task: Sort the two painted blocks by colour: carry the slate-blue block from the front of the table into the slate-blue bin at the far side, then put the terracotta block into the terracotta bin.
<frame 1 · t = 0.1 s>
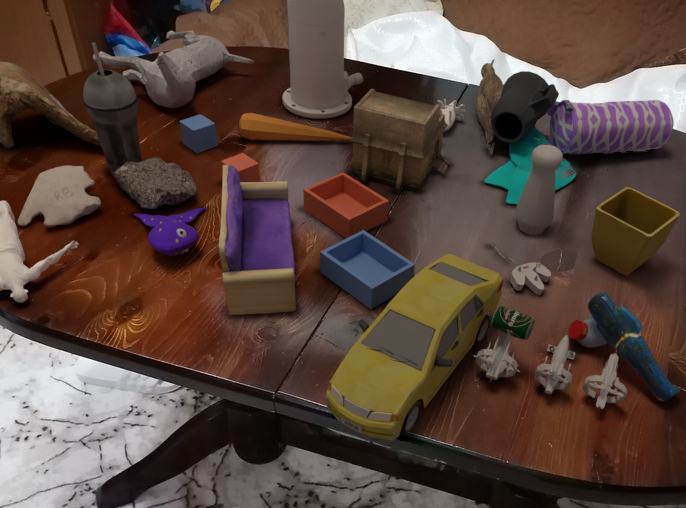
carrot: (299, 146, 122), on the table
red bin: (345, 215, 108), on the table
beer can: (493, 315, 84), point 7 cm above the table, touching toy vehicles
red block: (242, 185, 111), on the table
stone: (160, 197, 108), on the table
blue bin: (366, 278, 97), on the table
beverage cup: (126, 171, 111), on the table
toy vehicles: (548, 374, 87), on the table, touching beer can
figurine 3: (672, 399, 85), point 1 cm above the table, touching red capped bottle 2
blue block: (200, 144, 119), on the table
toy car: (416, 369, 86), on the table
flower pot: (620, 263, 105), on the table
bird model: (504, 115, 134), point 1 cm above the table, touching mug
toy sofa: (261, 267, 98), on the table
statue: (152, 36, 131), point 7 cm above the table
toy: (166, 239, 100), on the table
game controller: (516, 271, 102), on the table
wooden crate: (402, 169, 119), on the table
cloth: (535, 168, 122), on the table, touching mug
mug: (534, 92, 126), point 8 cm above the table, touching bird model, cloth
pencil case: (620, 143, 123), point 4 cm above the table
rock: (75, 145, 120), on the table
salt shaker: (531, 228, 110), on the table
decorative object: (72, 224, 100), point 1 cm above the table
red capped bottle 2: (623, 321, 93), point 2 cm above the table, touching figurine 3
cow: (446, 106, 126), point 5 cm above the table
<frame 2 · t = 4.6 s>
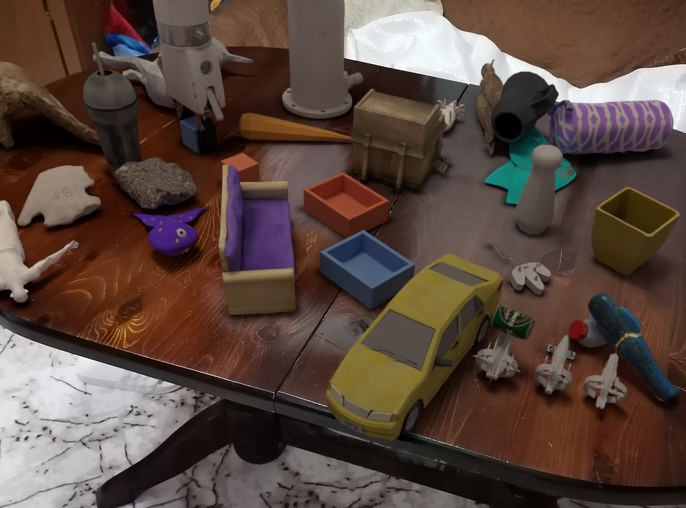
hand: (200, 143, 118), 0 cm above the table, tool pointing down, fingers closed on blue block, 4 cm apart
blue block: (200, 144, 119), on the table, touching gripper
bird model: (504, 115, 134), point 1 cm above the table
mug: (534, 92, 126), point 8 cm above the table, touching cloth
everything else where it was.
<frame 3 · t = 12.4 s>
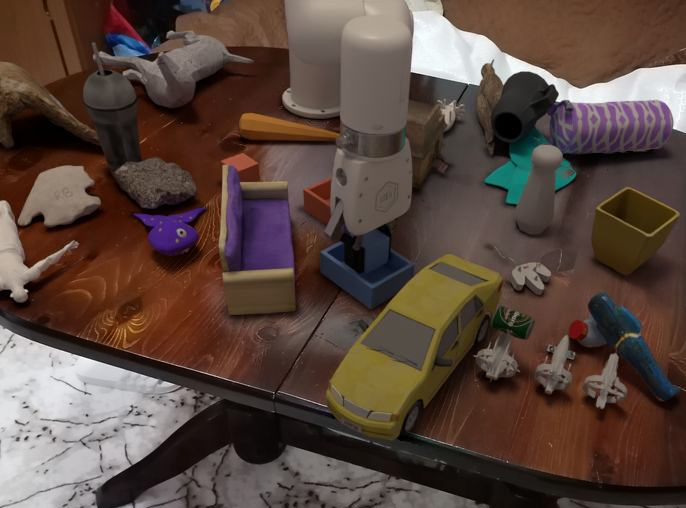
hand: (367, 259, 95), 3 cm above the table, tool pointing down, fingers closed on blue block, 4 cm apart
blue block: (366, 261, 96), point 3 cm above the table, touching gripper
bird model: (504, 115, 134), point 1 cm above the table, touching mug
mug: (534, 92, 126), point 8 cm above the table, touching bird model, cloth
everything else where it was.
when the fingers open (4 cm above the table, at t = 17.4 s): blue block drops 3 cm, resting on blue bin.
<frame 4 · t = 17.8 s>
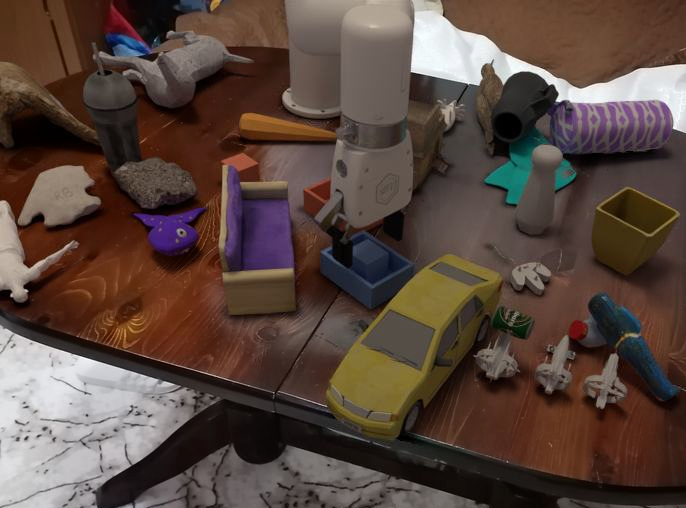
hand: (367, 248, 94), 5 cm above the table, tool pointing down, fingers open, 8 cm apart
blue block: (366, 275, 97), resting on blue bin
bird model: (504, 115, 134), point 1 cm above the table
mug: (534, 92, 126), point 8 cm above the table, touching cloth
everything else where it was.
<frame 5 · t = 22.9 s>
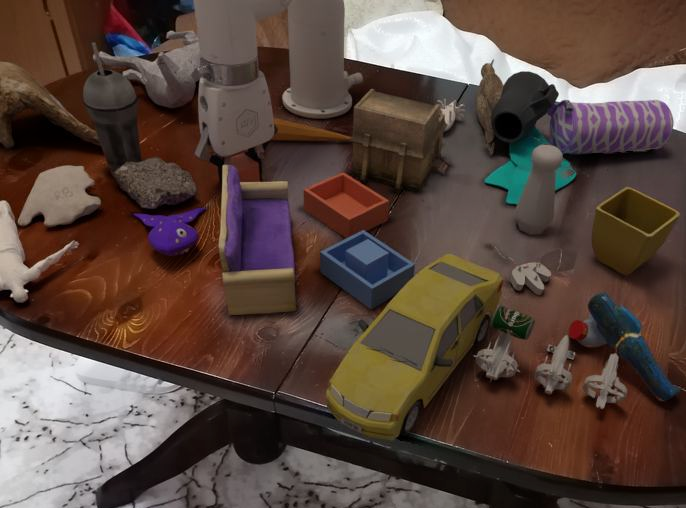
hand: (241, 183, 111), 0 cm above the table, tool pointing down, fingers closed on red block, 4 cm apart
red block: (242, 185, 111), on the table, touching gripper
bird model: (504, 115, 134), point 1 cm above the table, touching mug
mug: (534, 92, 126), point 8 cm above the table, touching bird model, cloth
everything else where it was.
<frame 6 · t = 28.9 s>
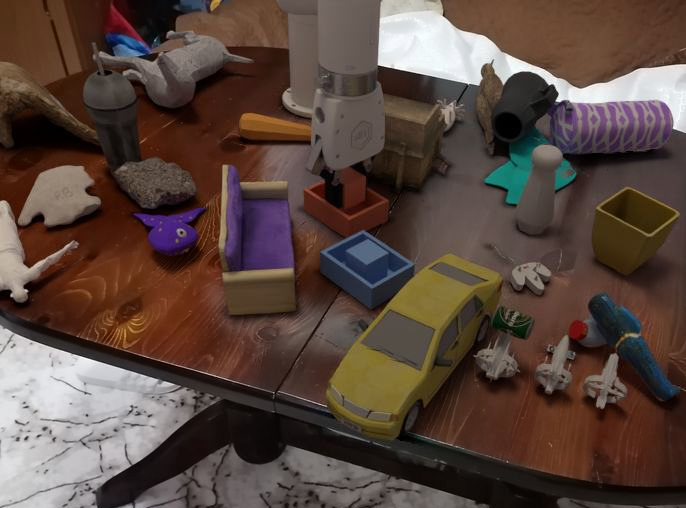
hand: (346, 197, 106), 3 cm above the table, tool pointing down, fingers closed on red block, 4 cm apart
red block: (346, 199, 106), point 3 cm above the table, touching gripper
bird model: (504, 115, 134), point 1 cm above the table
mug: (534, 92, 126), point 8 cm above the table, touching cloth
everything else where it was.
when the fingers open (4 cm above the table, at t = 33.9 s): red block drops 3 cm, resting on red bin.
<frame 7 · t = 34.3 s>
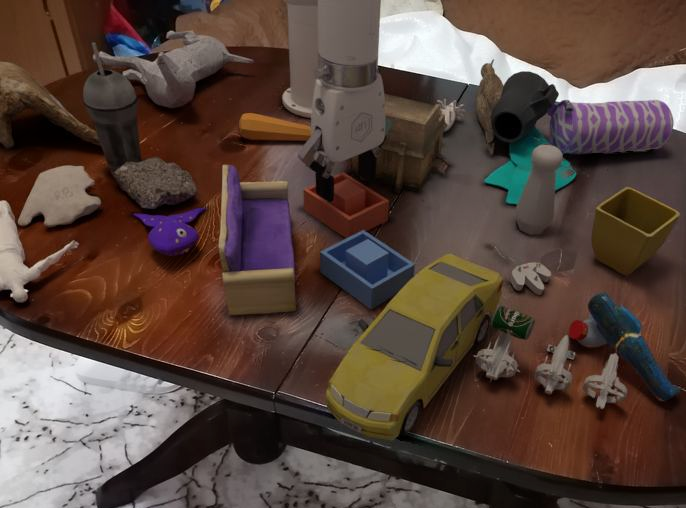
hand: (346, 187, 104), 5 cm above the table, tool pointing down, fingers open, 7 cm apart
red block: (345, 212, 107), resting on red bin
everything else where it was.
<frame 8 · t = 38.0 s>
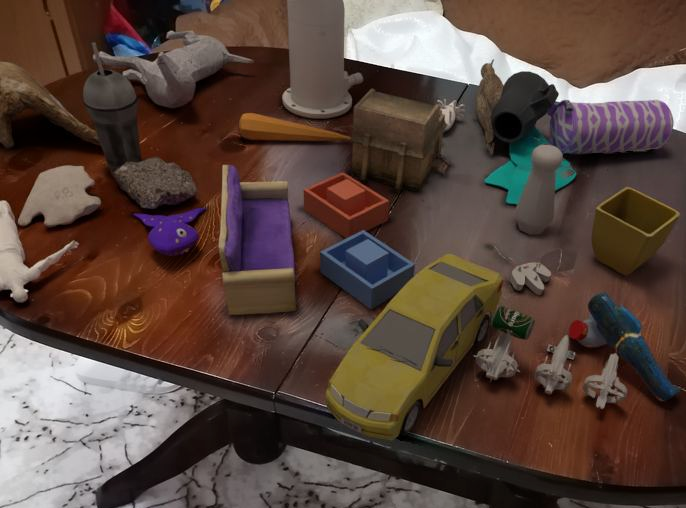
nothing on the table moved.
at the end: blue block inside the target area in the blue bin (0.1 cm from its centre), point 0.5 cm above the blue bin's base; red block inside the target area in the red bin (0.0 cm from its centre), point 0.5 cm above the red bin's base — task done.
